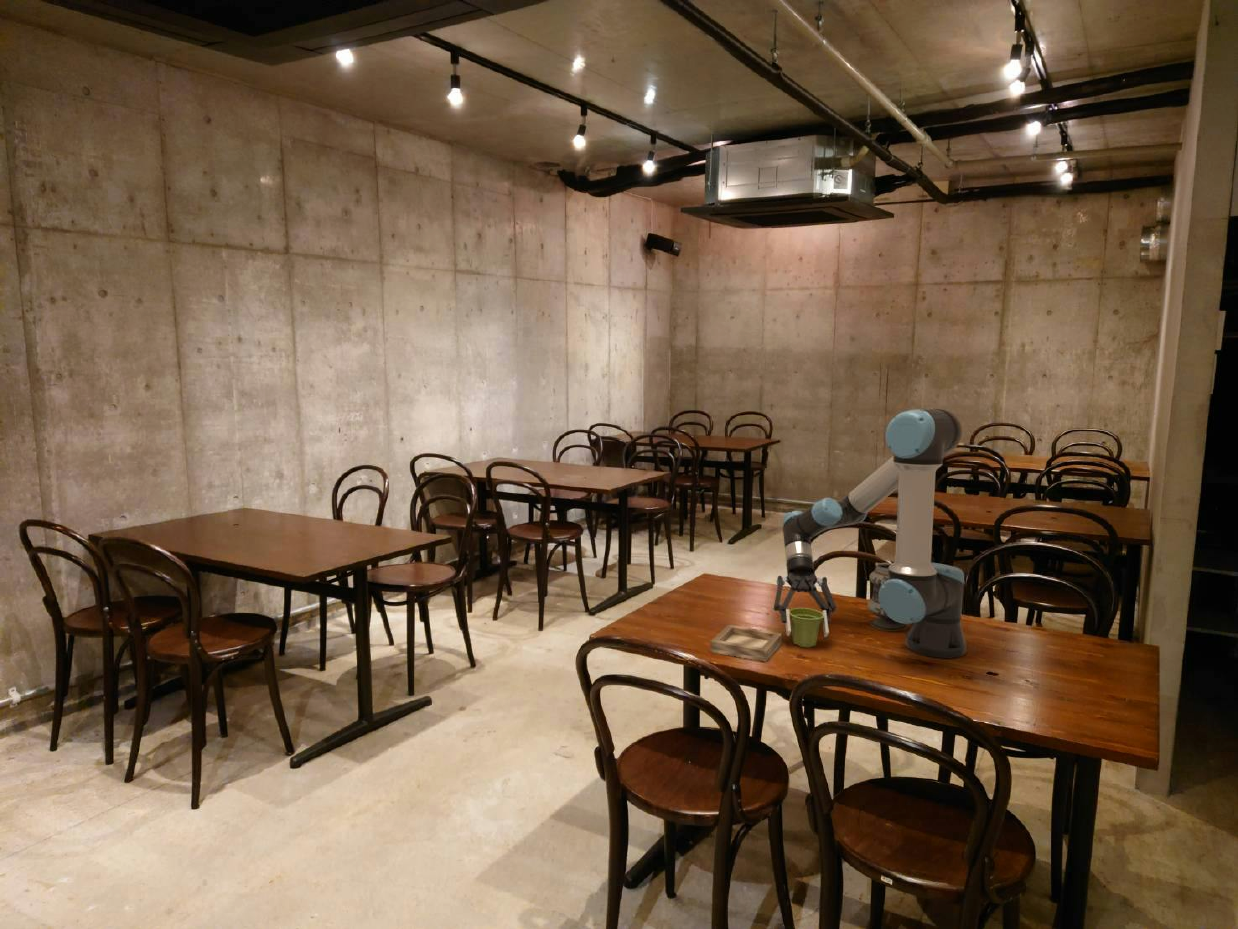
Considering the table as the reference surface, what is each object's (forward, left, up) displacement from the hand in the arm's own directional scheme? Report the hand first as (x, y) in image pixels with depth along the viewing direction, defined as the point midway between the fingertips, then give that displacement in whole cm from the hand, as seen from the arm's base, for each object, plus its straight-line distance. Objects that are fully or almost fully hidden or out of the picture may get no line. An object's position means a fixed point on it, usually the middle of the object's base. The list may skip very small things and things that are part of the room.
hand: (807, 634), depth 209 cm
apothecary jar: (-17, -30, -4) cm, 34 cm away
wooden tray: (+14, +8, -4) cm, 17 cm away
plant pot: (+1, -3, -4) cm, 5 cm away
